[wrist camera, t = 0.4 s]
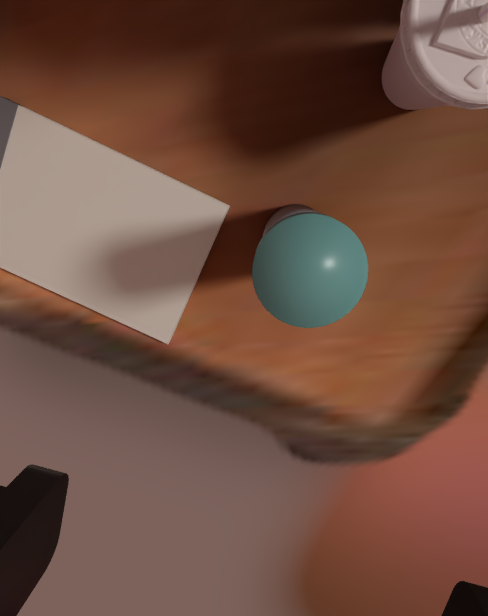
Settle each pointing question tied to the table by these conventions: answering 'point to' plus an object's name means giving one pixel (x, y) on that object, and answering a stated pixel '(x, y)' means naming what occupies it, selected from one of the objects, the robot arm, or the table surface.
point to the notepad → (100, 224)
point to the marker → (308, 267)
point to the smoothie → (439, 55)
